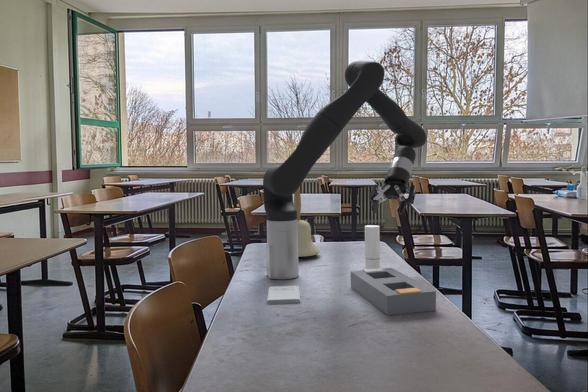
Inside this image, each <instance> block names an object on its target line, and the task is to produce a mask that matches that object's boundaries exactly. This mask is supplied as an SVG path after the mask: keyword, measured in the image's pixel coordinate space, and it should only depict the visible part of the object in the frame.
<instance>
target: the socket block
mask: <svg viewBox="0 0 588 392" xmlns="http://www.w3.org/2000/svg"><path fill="white" fill-rule="evenodd" d="M350 288H351V289H352V290H354V291H355V292H356V293H357V294H358V295H360V296H362V297H363V298H364V299H365V300H367V302H369V303H371V304H372V305H373V306H374V307H375V308H377V309H378V310H379V311H380V312H382V313H383V314H385V316H387V317H388V316H397V315H404V314H405V315H406V314H413V313H414V314H416V313H424V312H434V311H437V294H436V293H437V291H436V290H434V289H433V288H430V287H429V286H427V285H425V284H423V283H421V282H420V281H417V280H415V279H414V278H413V277H410V276H408V275H407V274H404V273H402V272H401V271H399V270H397V269H395V268H393V267H385V268H382V267H380V268H374V269H365V268H364V269H360V270H351V271H350Z"/></svg>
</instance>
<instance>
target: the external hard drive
mask: <svg viewBox="0 0 588 392" xmlns="http://www.w3.org/2000/svg"><path fill="white" fill-rule="evenodd" d="M266 297H267V298H266V304H267V305H275V304H276V305H277V304H278V305H279V304H301V295H300V287H299V285H281V286H280V285H279V286H278V285H276V286H275V285H274V286H269V287H268V291H267V296H266Z"/></svg>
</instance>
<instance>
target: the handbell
mask: <svg viewBox="0 0 588 392" xmlns="http://www.w3.org/2000/svg"><path fill="white" fill-rule="evenodd" d="M300 189H301V188H300V187H299V188H298V190H297V191H296V192H295V193H294V194H293V203H294V206H295V208H296V210H297V227H298V258H299V257H301V258H302V257H311V256H315V255H318V254H319V253H320V252H321V250H320V248H319V247H318V246H317V245H316V244H315V243H314V242H313V239H312V228H311V225H310V223H309V222H308V221H307V220H303V219H301V212H302V211H301V210H302V209H301V208H302V199H301V190H300Z"/></svg>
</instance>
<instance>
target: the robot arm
mask: <svg viewBox="0 0 588 392" xmlns="http://www.w3.org/2000/svg"><path fill="white" fill-rule="evenodd" d="M385 76H386V75H385V68H384V66H383V65H382V64H381V63H379V62H377V61H374V60H373V61H371V60H355V61H352V62H350V63H349V64H348V65H347V66H346V68H345V72H344V79H345V80H344V81H345V82H346V84H347V86H348V87H349V88H348V89H347V90H346V91H345V92H344V93H342V94H341V95H340V96H338V97H336V98H335V99H334V100H332V101H330V102H329V103H327V104H326V105H324V106H323V107H322V108H321V109H319V110H318V112H316V114H315V115H314V116H313V117H312V119H311V120H310V121H309V123H308V124H307V125H306V127H305V129H304V131H303V133H302V135H301V137H300V139H299V141H298V144H297V146H296V148H295V149H294V150H293V152H291V154H290V155H289V156H288V157H287V158H286V160H284V161H283V163H281V164H280V165H273V166H271V167H269V168H268V169H267V170H266V171H265V173H264V175H263V178H262V193H263V194H262V195H263V206H264V211H265V215H266V218H265V219H266V242H267V243H266V244H265V254H266V257H265V259H266V275H267V277H268V278H269V280H290V279H295V278H297V277H299V275H300V274H299V272H300V271H299V257H298V227H297V210H296V208H295V206H294V193H295V192H296V191H297V190H298V188H300V187H301V185H302V183H304V181H305V178H306V177H307V176H308V174H309V173H310V171H311V169H312V168H313V167H314V165H316V163H317V161H319V159H321V157H322V156H323V155H324V154H325V152H326V151H327V150H328V149H329V147H330V146H331V145H332V144H333V142H334V141H335V140H336V139H337V138H338V136H339V135H340V134H341V132H343V130H344V129H345V127H346V126H347V124H348V123H349V122H350V121H351V120H352V118H353V117H354V116H355V115H356V113H358V112H359V110H360V109H361V107H363V105H364V104H365V103H366V104H368V105H369V106H370V107H371V108H372V109H373V110H374V112H376V113H377V115H378V116H379V117H380V118H381V120H383V122H384V123H385V125H386V126H387V128H388V129H389V130H390V131H391V132H392V133H393V134H396V135H395V136H394V154H393V158H392V160H391V162H390V164H389V166H388V170H387V173H386V175H385V178H384V182H383V185H382V186H379V185H378V184H376V183H375V184H374V185H373V186H372V188H371V191H370V193H369V196H368V199H369V201H370V203H371V207H370V209H371V211H372V212H373V214H377V212H378V208H379V206H380V204H381V203H382V202H385V201H386V200H387V199H388V200H398V199H399V200H400V203H399V207H398V208H397V212H398V215H403V213H405V212H406V208H407V206H408V205H414V202H415V199H416V193H417V190H416V186H415V185H414V184H411V185H410V186H409V183H410V180H411V179H410V178H411V176H412V173H413V168H414V164H415V159H416V156H417V154H416V150H415V149H417V148H421V147H423V146H425V144H426V142H427V134H426V132H425V130H424V128H423V127H422V126H421V125H419V124H418V123H416V122H415V121H414V120H413V119H411V118H409V117H408V116H407V114H406V113H405V111H404V110H403V109H402V107H401V106H400V105H399V104H398V103H397V102H396V101H395V100H393V98H391V97H389V95H387V94H386V93H384V92H383V91H382V90H381V89H380V88H381V86H382V84H383V82H384V79H385ZM406 193H408V196H407V197H405V196H404V195H405V194H406Z"/></svg>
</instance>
